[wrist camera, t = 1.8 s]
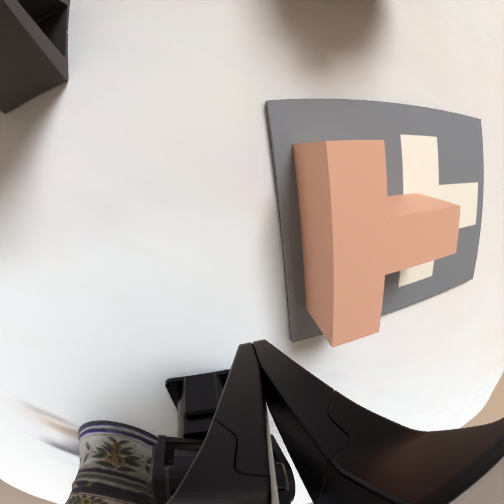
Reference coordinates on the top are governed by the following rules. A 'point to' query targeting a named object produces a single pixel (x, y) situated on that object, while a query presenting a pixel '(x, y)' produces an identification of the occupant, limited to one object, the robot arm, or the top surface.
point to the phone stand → (32, 48)
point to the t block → (360, 233)
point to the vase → (113, 465)
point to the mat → (398, 182)
